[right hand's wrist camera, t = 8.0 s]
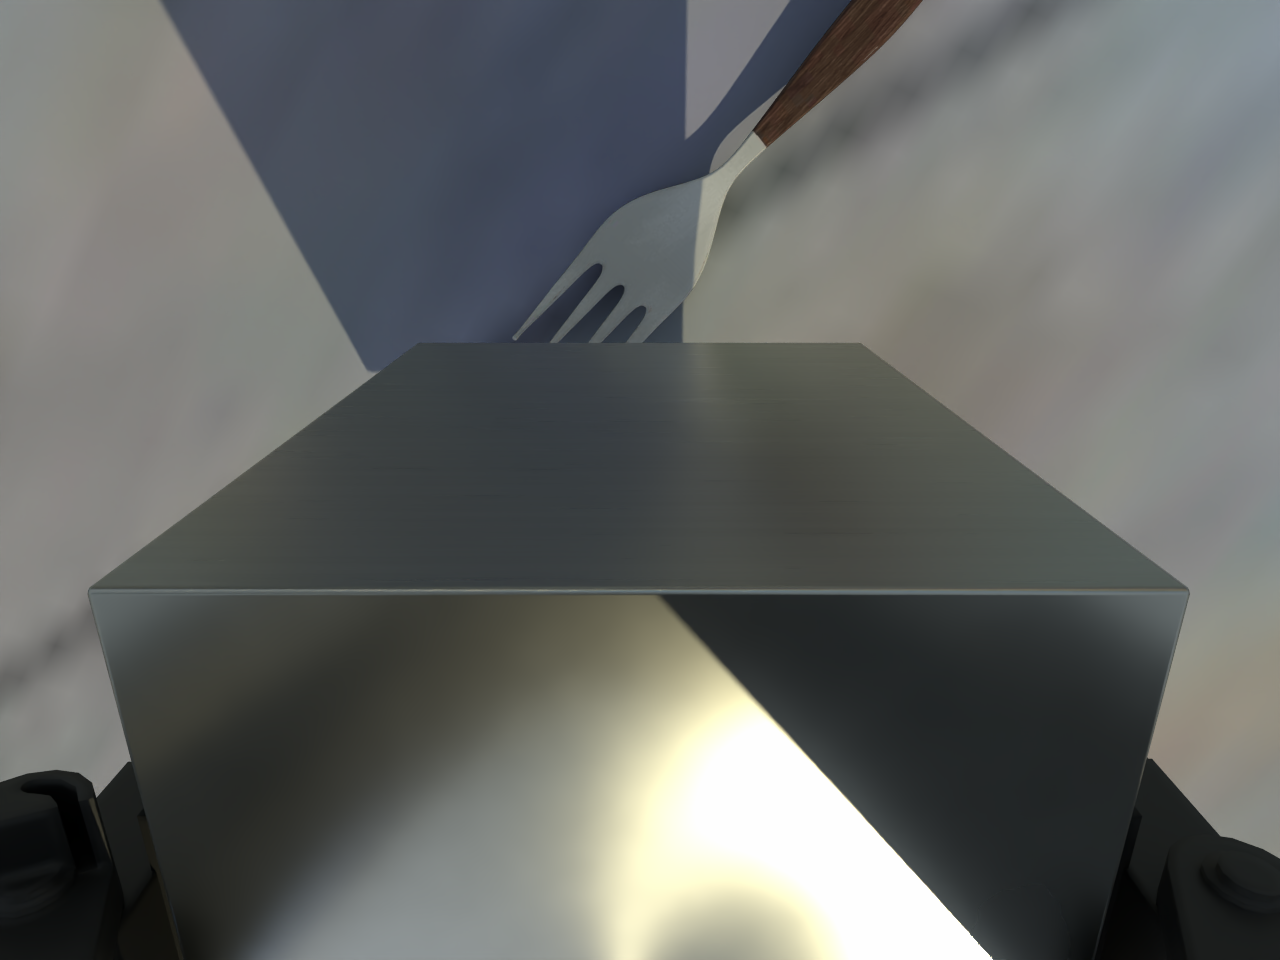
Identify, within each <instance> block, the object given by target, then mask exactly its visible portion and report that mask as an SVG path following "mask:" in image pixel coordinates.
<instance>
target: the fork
mask: <svg viewBox="0 0 1280 960" xmlns="http://www.w3.org/2000/svg"><path fill="white" fill-rule="evenodd" d="M922 1H923V0H852V1H851V2H850V3H849V4H848V5H847V7H846V8H845V9H844V10H843V11H842V13H841V14H840V15H839V16H838V18H837V19H836V20H835V22H834V23H833V24H832V25H831V27H830V28H829V29H828V30H827V32H826V33H825V34H824V36H823V37H822V38H821V40H820V41H819V42H818V43H817V45H816V46H815V47H814V49H813V50H812V51H811V53H810V54H809V55H808V57H807V58H806V59H805V61H804V62H803V63H802V65H801V66H800V67H799V69H798V70H797V71H796V73H795V74H794V75H793V77H792V78H791V79H790V81H789V82H788V83H787V85H786V86H785V87H784V89H783V90H782V91H781V93H780V94H779V96H778V97H777V98H776V100H775V101H774V102H773V104H772V105H771V106H770V108H769V109H768V110H767V112H766V113H765V114H764V116H763V117H762V118H761V120H760V121H759V122H758V124H757V125H756V126H755V128H754V129H753V130H752V132H751V133H750V134H749V135H748V137H747V138H746V139H745V141H744V142H743V143H742V144H741V146H740V147H739V148H738V149H737V150H736V152H735V153H734V154H733V155H732V156H731V157H730V158H729V159H728V160H727V161H726V162H725V163H724V164H723V165H722V166H721V167H719V168H718V169H717V170H715V171H713V172H712V173H710V174H708V175H706V176H703V177H701V178H698V179H695V180H692V181H689V182H686V183H683V184H679V185H676V186H672V187H668V188H665V189H661V190H658V191H655V192H652V193H649V194H646V195H644V196H641V197H639V198H637V199H635V200H633V201H631V202H629V203H627V204H626V205H624V206H622V207H621V208H619V209H618V210H617V211H615V212H614V213H613V214H612V215H611V216H610V217H609V218H608V219H607V220H606V221H605V222H604V223H603V224H602V225H601V226H600V228H599V229H598V230H597V231H596V233H595V234H594V235H593V236H592V238H591V239H590V240H589V242H588V243H587V244H586V246H585V247H584V248H583V250H582V251H581V252H580V254H579V255H578V256H577V257H576V259H575V260H574V261H573V262H572V264H571V265H570V266H569V267H568V269H567V270H566V271H565V272H564V273H563V275H562V276H561V277H560V278H559V280H558V281H557V282H556V283H555V285H554V286H553V287H552V288H551V290H550V291H549V292H548V294H547V295H546V296H545V297H544V299H543V300H542V301H541V303H540V304H539V305H538V306H537V308H536V309H535V310H534V312H533V313H532V314H531V315H530V317H529V318H528V319H527V321H526V322H525V323H524V324H523V326H522V327H521V328H520V329H519V331H518V332H517V333H516V334H515V335H514V336H513V340H517V339H518V338H519V337H520V335H521V334H522V333H523V332H524V331H525V330H526V329H527V328H528V327H529V326H530V325H531V324H532V323H533V322H534V321H535V320H536V319H537V318H538V317H539V316H540V315H541V314H543V313H544V312H545V311H546V310H547V309H548V308H549V307H550V306H551V305H552V304H553V303H554V302H555V301H556V300H557V299H558V298H559V297H560V296H561V295H562V294H563V293H564V292H565V291H566V290H567V289H568V288H569V287H570V286H571V285H572V284H573V283H574V282H575V281H576V280H577V279H578V278H579V277H580V276H581V275H582V274H583V273H584V272H585V271H586V270H587V269H589V268H590V267H591V266H593V265H594V264H597V263H599V264H601V265H602V267H603V269H602V273H601V275H600V277H599V278H598V280H597V281H596V283H595V284H594V285H593V287H592V288H591V289H590V291H589V292H588V293H587V294H586V296H585V297H584V298H583V300H582V301H581V302H580V303H579V305H578V306H577V307H576V308H575V310H574V311H573V312H572V314H571V315H570V316H569V318H568V319H567V320H566V322H565V323H564V324H563V325H562V327H561V328H560V329H559V331H558V332H557V333H556V335H555V336H554V337H553V339H552V340H551V341H550V343H558V342H559V341H560V340H561V339H562V338H563V337H564V336H565V335H566V334H567V333H568V332H569V331H570V330H571V329H572V328H573V327H574V326H575V325H576V324H577V323H578V322H579V321H580V320H581V319H582V318H583V317H584V316H585V315H586V314H587V313H588V312H589V311H590V310H591V309H592V308H593V307H594V306H595V305H596V304H597V303H598V302H599V301H600V300H601V299H602V298H603V297H604V296H605V295H606V294H607V293H608V292H609V291H610V290H611V289H612V288H614V287H615V286H617V285H623V286H624V288H625V291H624V294H623V296H622V298H621V299H620V301H619V302H618V304H617V305H616V307H615V308H614V309H613V311H612V312H611V313H610V315H609V316H608V317H607V318H606V320H605V321H604V322H603V324H602V325H601V326H600V328H599V329H598V330H597V331H596V333H595V334H594V335H593V337H592V338H591V339H590V341H589V342H588V343H601V342H602V341H603V340H604V339H605V338H606V337H607V336H608V335H609V334H610V333H611V332H612V331H613V330H614V329H615V328H616V327H617V326H618V325H619V324H620V323H621V321H622V320H623V319H624V318H625V317H626V316H627V315H628V314H630V313H631V312H632V311H633V310H634V309H636V308H637V307H639V306H645V308H646V314H645V316H644V318H643V320H642V321H641V323H640V324H639V326H638V327H637V328H636V330H635V331H634V332H633V334H632V335H631V336H630V338H629V339H628V340H627V342H626V343H643V342H644V341H645V339H646V338H647V337H648V336H649V335H650V334H651V333H652V332H653V331H654V330H655V329H656V328H657V327H658V326H659V325H660V324H661V323H662V322H663V321H664V320H665V319H666V318H667V317H668V316H669V315H670V314H671V313H672V312H673V311H674V310H675V309H676V308H677V307H678V306H679V305H680V304H681V303H682V302H683V301H684V300H685V298H686V297H687V296H688V295H689V293H690V292H691V291H692V289H693V288H694V286H695V284H696V283H697V281H698V279H699V277H700V275H701V273H702V271H703V269H704V266H705V264H706V261H707V259H708V256H709V252H710V249H711V245H712V242H713V238H714V234H715V230H716V226H717V223H718V219H719V215H720V212H721V208H722V205H723V202H724V199H725V197H726V194H727V192H728V190H729V188H730V186H731V185H732V183H733V182H734V180H735V179H736V177H737V176H738V175H739V174H740V173H741V172H742V170H743V169H744V168H745V167H746V166H747V165H748V164H749V163H750V162H751V161H752V160H754V159H755V158H756V157H757V156H758V155H759V154H760V153H761V152H762V151H764V150H765V149H766V148H767V147H768V146H769V145H770V144H771V143H773V142H774V141H775V140H776V139H777V138H778V137H780V136H781V135H782V134H783V133H784V132H785V131H787V130H788V129H789V128H790V127H791V126H792V125H793V124H795V123H796V122H797V121H798V120H799V119H800V118H802V117H803V116H804V115H805V114H806V113H807V112H809V111H810V110H811V109H812V108H813V107H814V106H816V105H817V104H818V103H819V102H820V101H821V100H823V99H824V98H825V97H826V96H827V95H828V94H830V93H831V92H832V91H833V90H834V89H835V88H836V87H838V86H839V85H840V84H841V83H842V82H843V81H844V80H846V79H847V78H848V77H849V76H850V75H851V74H852V73H853V72H855V71H856V70H857V69H858V68H859V67H860V66H861V65H862V64H863V63H865V62H866V61H867V60H868V59H869V58H870V57H871V56H872V55H873V54H874V53H875V52H876V51H877V50H878V49H879V48H880V47H881V46H882V45H883V44H884V43H885V42H886V41H887V40H888V39H889V38H890V37H891V36H892V35H893V34H894V33H895V32H896V31H897V30H898V29H899V28H900V27H901V25H902V24H903V23H904V22H905V21H906V20H907V19H908V17H909V16H910V15H911V14H912V13H913V12H914V10H915V9H916V8H917V7H918V6H919V4H920V3H921V2H922Z"/></svg>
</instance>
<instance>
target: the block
mask: <svg viewBox="0 0 1280 960" xmlns="http://www.w3.org/2000/svg"><path fill="white" fill-rule="evenodd" d="M1189 595H1190V593H1189V589H1188V587H1186V586H1185V585H1184V584H1182V583H1181V582H1180V581H1178V580H1177V579H1176V578H1174V577H1173V576H1172V575H1170V574H1169V573H1168V572H1166V571H1165V570H1164V569H1162V568H1161V567H1159V566H1158V565H1157V564H1155V563H1154V562H1153V561H1151V560H1150V559H1149V558H1147V557H1146V556H1145V555H1143V554H1142V553H1141V552H1139V551H1138V550H1137V549H1135V548H1134V547H1133V546H1131V545H1130V544H1129V543H1127V542H1126V541H1125V540H1123V539H1122V538H1121V537H1119V536H1118V535H1117V534H1115V533H1114V532H1113V531H1111V530H1110V529H1109V528H1107V527H1106V526H1105V525H1103V524H1102V523H1101V522H1099V521H1098V520H1097V519H1095V518H1094V517H1093V516H1091V515H1090V514H1089V513H1087V512H1086V511H1085V510H1083V509H1082V508H1081V507H1079V506H1078V505H1077V504H1075V503H1074V502H1073V501H1071V500H1070V499H1069V498H1067V497H1066V496H1065V495H1063V494H1062V493H1061V492H1059V491H1058V490H1056V489H1055V488H1054V487H1052V486H1051V485H1050V484H1048V483H1047V482H1046V481H1044V480H1043V479H1042V478H1040V477H1039V476H1038V475H1036V474H1035V473H1034V472H1032V471H1031V470H1030V469H1028V468H1027V467H1026V466H1024V465H1023V464H1022V463H1020V462H1019V461H1018V460H1016V459H1015V458H1014V457H1012V456H1011V455H1010V454H1008V453H1007V452H1006V451H1004V450H1003V449H1002V448H1000V447H999V446H998V445H996V444H995V443H994V442H992V441H991V440H990V439H988V438H987V437H986V436H984V435H983V434H982V433H980V432H979V431H978V430H976V429H975V428H974V427H972V426H971V425H970V424H968V423H967V422H966V421H964V420H963V419H962V418H960V417H959V416H958V415H956V414H955V413H953V412H952V411H951V410H949V409H948V408H947V407H945V406H944V405H943V404H941V403H940V402H939V401H937V400H936V399H935V398H933V397H932V396H931V395H929V394H928V393H927V392H925V391H924V390H923V389H921V388H920V387H919V386H917V385H916V384H915V383H913V382H912V381H911V380H909V379H908V378H907V377H905V376H904V375H903V374H901V373H900V372H899V371H897V370H896V369H895V368H893V367H892V366H891V365H889V364H888V363H887V362H885V361H884V360H883V359H881V358H880V357H879V356H877V355H876V354H875V353H873V352H872V351H871V350H869V349H868V348H867V347H865V346H864V345H863V344H861V343H418V344H416V345H415V346H414V347H412V348H411V349H410V350H408V351H407V352H406V353H404V354H403V355H402V356H400V357H399V358H398V359H396V360H395V361H394V362H392V363H391V364H389V365H388V366H387V367H385V368H384V369H383V370H381V371H380V372H379V373H377V374H376V375H375V376H373V377H372V378H371V379H369V380H368V381H367V382H365V383H364V384H363V385H361V386H360V387H359V388H357V389H356V390H355V391H353V392H352V393H351V394H349V395H348V396H346V397H345V398H344V399H342V400H341V401H340V402H338V403H337V404H336V405H334V406H333V407H332V408H330V409H329V410H328V411H326V412H325V413H324V414H322V415H321V416H320V417H318V418H317V419H316V420H314V421H313V422H312V423H310V424H309V425H308V426H306V427H305V428H303V429H302V430H301V431H299V432H298V433H297V434H295V435H294V436H293V437H291V438H290V439H289V440H287V441H286V442H285V443H283V444H282V445H281V446H279V447H278V448H277V449H275V450H274V451H273V452H271V453H270V454H269V455H267V456H266V457H265V458H263V459H262V460H261V461H259V462H258V463H256V464H255V465H254V466H252V467H251V468H250V469H248V470H247V471H246V472H244V473H243V474H242V475H240V476H239V477H238V478H236V479H235V480H234V481H232V482H231V483H230V484H228V485H227V486H226V487H224V488H223V489H222V490H220V491H219V492H218V493H216V494H215V495H213V496H212V497H211V498H209V499H208V500H207V501H205V502H204V503H203V504H201V505H200V506H199V507H197V508H196V509H195V510H193V511H192V512H191V513H189V514H188V515H187V516H185V517H184V518H183V519H181V520H180V521H179V522H177V523H176V524H175V525H173V526H172V527H170V528H169V529H168V530H166V531H165V532H164V533H162V534H161V535H160V536H158V537H157V538H156V539H154V540H153V541H152V542H150V543H149V544H148V545H146V546H145V547H144V548H142V549H141V550H140V551H138V552H137V553H136V554H134V555H133V556H132V557H130V558H129V559H128V560H126V561H125V562H123V563H122V564H121V565H119V566H118V567H117V568H115V569H114V570H113V571H111V572H110V573H109V574H107V575H106V576H105V577H103V578H102V579H101V580H99V581H98V582H97V583H95V584H94V585H93V586H91V587H90V588H89V590H88V597H89V601H90V605H91V609H92V613H93V616H94V620H95V624H96V628H97V632H98V635H99V639H100V643H101V647H102V651H103V654H104V658H105V662H106V666H107V670H108V674H109V677H110V681H111V685H112V689H113V693H114V696H115V700H116V704H117V708H118V712H119V715H120V719H121V723H122V727H123V731H124V735H125V738H126V742H127V746H128V750H129V754H130V757H131V761H132V765H133V769H134V773H135V776H136V780H137V784H138V788H139V792H140V795H141V799H142V803H143V807H144V811H145V815H146V818H147V822H148V826H149V830H150V834H151V837H152V841H153V845H154V849H155V853H156V856H157V860H158V864H159V868H160V872H161V875H162V879H163V883H164V887H165V891H166V895H167V898H168V902H169V906H170V910H171V914H172V917H173V921H174V925H175V929H176V933H177V936H178V940H179V944H180V948H181V952H182V955H183V959H184V960H1094V959H1095V955H1096V951H1097V947H1098V943H1099V939H1100V936H1101V932H1102V928H1103V924H1104V920H1105V917H1106V913H1107V909H1108V905H1109V901H1110V897H1111V894H1112V890H1113V886H1114V882H1115V878H1116V874H1117V871H1118V867H1119V863H1120V859H1121V855H1122V851H1123V848H1124V844H1125V840H1126V836H1127V832H1128V828H1129V825H1130V821H1131V817H1132V813H1133V809H1134V805H1135V802H1136V798H1137V794H1138V790H1139V786H1140V783H1141V779H1142V775H1143V771H1144V767H1145V763H1146V760H1147V756H1148V752H1149V748H1150V744H1151V740H1152V737H1153V733H1154V729H1155V725H1156V721H1157V717H1158V714H1159V710H1160V706H1161V702H1162V698H1163V694H1164V691H1165V687H1166V683H1167V679H1168V675H1169V671H1170V668H1171V664H1172V660H1173V656H1174V652H1175V649H1176V645H1177V641H1178V637H1179V633H1180V629H1181V626H1182V622H1183V618H1184V614H1185V610H1186V606H1187V603H1188V599H1189Z"/></svg>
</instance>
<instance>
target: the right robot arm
mask: <svg viewBox="0 0 1280 960" xmlns="http://www.w3.org/2000/svg"><path fill="white" fill-rule="evenodd" d="M0 960H184V959H183V955H182V952H181V948H180V944H179V940H178V936H177V933H176V929H175V925H174V921H173V917H172V914H171V910H170V906H169V902H168V898H167V895H166V891H165V887H164V883H163V879H162V875H161V872H160V868H159V864H158V860H157V856H156V853H155V849H154V845H153V841H152V837H151V834H150V830H149V826H148V822H147V818H146V815H145V811H144V807H143V803H142V799H141V795H140V792H139V788H138V784H137V780H136V776H135V773H134V769H133V765H132V762H128V763H127V764H126V765H125V766H124V767H123V768H122V769H121V770H120V772H119V773H118V774H117V775H116V776H115V777H114V778H113V780H112V781H111V782H110V783H109V784H108V785H107V786H106V788H105V789H104V790H103V791H102V792H101V793H100V794H99V796H98V797H97V798H96V795H95V792H94V788H93V785H92V782H90V781H89V780H88V779H86V778H85V777H84V776H82V775H81V774H79V773H75V772H68V771H61V770H52V771H44V772H37V773H29V774H25V775H22V776H19V777H15V778H12V779H9V780H6V781H3V782H0ZM1094 960H1280V859H1279V858H1278V857H1276V856H1274V855H1272V854H1271V853H1269V852H1267V851H1265V850H1263V849H1261V848H1258V847H1255V846H1253V845H1250V844H1247V843H1244V842H1241V841H1239V840H1236V839H1233V838H1227V837H1221V836H1220V835H1219V834H1218V833H1217V832H1216V831H1215V830H1214V829H1213V828H1212V826H1211V825H1210V824H1209V823H1208V822H1207V821H1206V820H1205V818H1204V817H1203V816H1202V815H1201V814H1200V813H1199V812H1198V811H1197V809H1196V808H1195V807H1194V806H1193V805H1192V804H1191V803H1190V801H1189V800H1188V799H1187V798H1186V797H1185V796H1184V795H1183V793H1182V792H1181V791H1180V790H1179V789H1178V788H1177V787H1176V786H1175V784H1174V783H1173V782H1172V781H1171V780H1170V779H1169V778H1168V776H1167V775H1166V774H1165V773H1164V772H1163V771H1162V770H1161V769H1160V767H1159V766H1158V765H1157V764H1156V763H1155V762H1154V761H1153V759H1148V758H1147V760H1146V763H1145V767H1144V771H1143V775H1142V779H1141V783H1140V786H1139V790H1138V794H1137V798H1136V802H1135V805H1134V809H1133V813H1132V817H1131V821H1130V825H1129V828H1128V832H1127V836H1126V840H1125V844H1124V848H1123V851H1122V855H1121V859H1120V863H1119V867H1118V871H1117V874H1116V878H1115V882H1114V886H1113V890H1112V894H1111V897H1110V901H1109V905H1108V909H1107V913H1106V917H1105V920H1104V924H1103V928H1102V932H1101V936H1100V939H1099V943H1098V947H1097V951H1096V955H1095V959H1094Z"/></svg>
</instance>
